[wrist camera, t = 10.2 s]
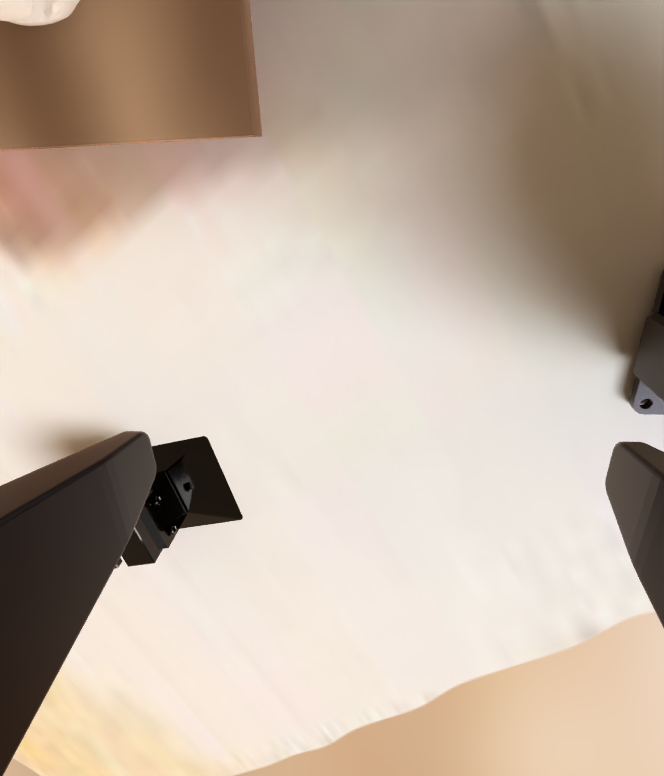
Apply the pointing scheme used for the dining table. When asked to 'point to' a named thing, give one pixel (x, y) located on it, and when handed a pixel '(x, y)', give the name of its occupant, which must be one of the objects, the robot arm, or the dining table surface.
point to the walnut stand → (130, 75)
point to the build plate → (180, 498)
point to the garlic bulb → (36, 11)
